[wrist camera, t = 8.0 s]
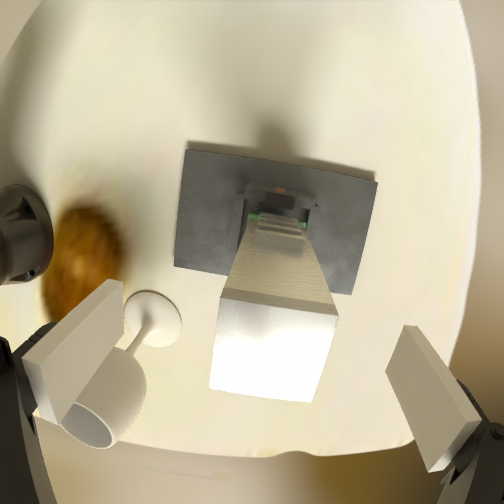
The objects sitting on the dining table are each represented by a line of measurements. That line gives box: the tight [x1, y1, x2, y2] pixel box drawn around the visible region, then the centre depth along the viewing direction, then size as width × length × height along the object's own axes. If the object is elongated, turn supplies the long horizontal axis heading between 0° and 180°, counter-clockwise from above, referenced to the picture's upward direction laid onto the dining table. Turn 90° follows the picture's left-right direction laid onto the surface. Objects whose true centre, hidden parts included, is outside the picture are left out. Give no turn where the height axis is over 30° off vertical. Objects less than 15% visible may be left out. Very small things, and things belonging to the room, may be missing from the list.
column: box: [210, 211, 339, 402], centre depth 21 cm, size 5×5×19 cm
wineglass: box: [60, 292, 182, 449], centre depth 32 cm, size 9×9×21 cm
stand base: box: [174, 150, 378, 295], centre depth 33 cm, size 22×14×10 cm, turn 81°
